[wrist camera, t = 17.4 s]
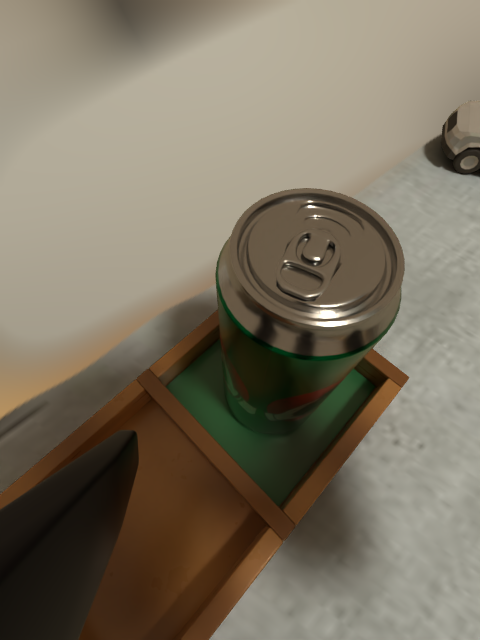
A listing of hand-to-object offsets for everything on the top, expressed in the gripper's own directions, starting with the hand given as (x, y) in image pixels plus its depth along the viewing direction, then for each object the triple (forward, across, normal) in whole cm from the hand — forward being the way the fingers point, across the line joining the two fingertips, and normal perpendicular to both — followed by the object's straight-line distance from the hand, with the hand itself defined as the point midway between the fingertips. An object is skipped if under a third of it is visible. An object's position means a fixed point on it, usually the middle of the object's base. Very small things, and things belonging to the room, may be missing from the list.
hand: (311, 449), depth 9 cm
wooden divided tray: (+8, +3, +6) cm, 11 cm away
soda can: (+10, 0, +4) cm, 10 cm away
